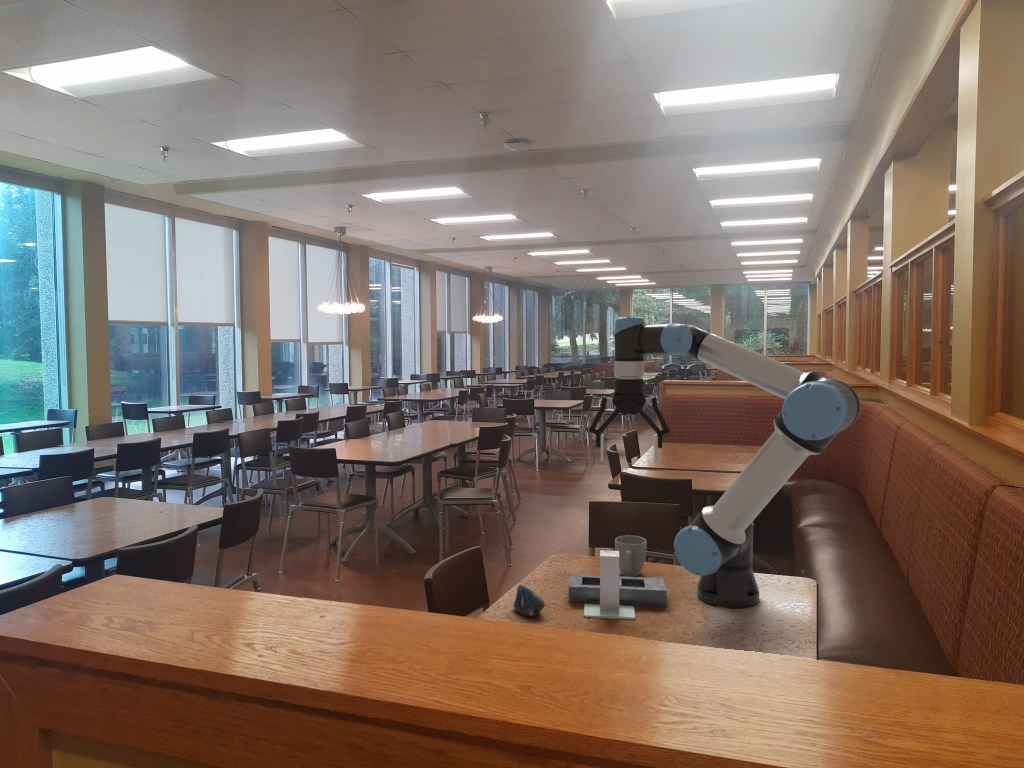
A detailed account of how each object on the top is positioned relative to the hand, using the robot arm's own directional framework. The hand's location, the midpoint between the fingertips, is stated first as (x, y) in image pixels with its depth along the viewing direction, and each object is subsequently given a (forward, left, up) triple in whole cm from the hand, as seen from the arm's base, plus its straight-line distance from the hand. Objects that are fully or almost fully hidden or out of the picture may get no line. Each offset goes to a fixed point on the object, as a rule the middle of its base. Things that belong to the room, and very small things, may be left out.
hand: (628, 460), depth 176 cm
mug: (-1, -14, -35) cm, 38 cm away
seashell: (+24, +15, -35) cm, 45 cm away
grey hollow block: (+3, +4, -35) cm, 35 cm away
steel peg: (+5, +14, -34) cm, 37 cm away
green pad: (+5, +14, -35) cm, 38 cm away
